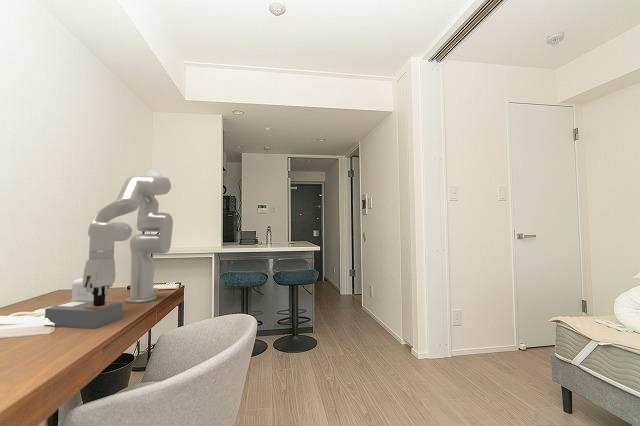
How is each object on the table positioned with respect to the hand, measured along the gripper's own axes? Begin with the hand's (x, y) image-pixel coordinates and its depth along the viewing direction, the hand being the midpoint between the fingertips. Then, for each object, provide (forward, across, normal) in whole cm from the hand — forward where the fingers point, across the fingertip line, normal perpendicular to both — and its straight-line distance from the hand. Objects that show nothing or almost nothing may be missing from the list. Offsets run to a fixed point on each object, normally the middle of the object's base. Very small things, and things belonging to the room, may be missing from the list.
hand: (99, 305), depth 109 cm
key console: (+6, 0, -6) cm, 8 cm away
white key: (+4, 0, -11) cm, 12 cm away
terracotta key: (+4, 0, 0) cm, 5 cm away
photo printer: (+6, -19, -24) cm, 31 cm away
